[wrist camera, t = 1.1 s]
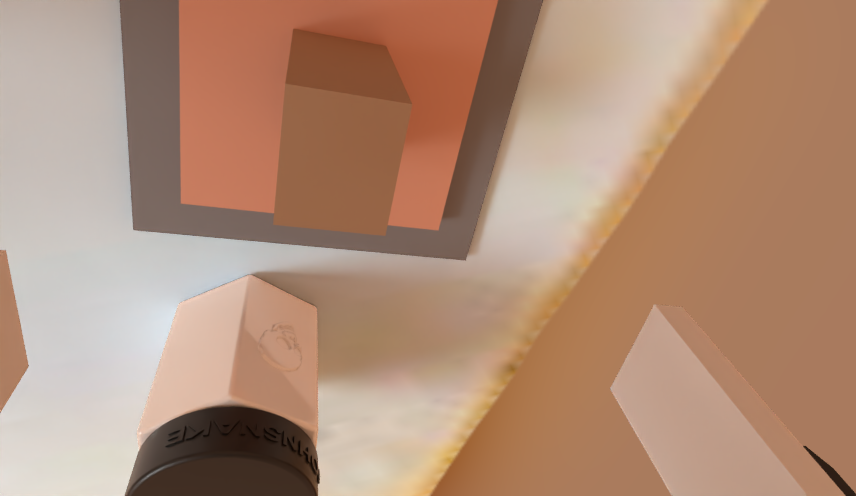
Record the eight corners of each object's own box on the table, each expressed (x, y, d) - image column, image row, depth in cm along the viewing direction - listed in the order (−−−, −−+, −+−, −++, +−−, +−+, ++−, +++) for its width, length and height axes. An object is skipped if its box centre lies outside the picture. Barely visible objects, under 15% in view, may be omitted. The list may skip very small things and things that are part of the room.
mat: (136, 224, 29) (133, 230, 29) (112, -207, 20) (107, -209, 20) (463, 254, 34) (465, 260, 33) (562, -85, 25) (567, -84, 24)
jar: (349, 318, 35) (363, 490, 25) (277, 398, 38) (264, 583, 28) (216, 251, 31) (169, 425, 21) (146, 346, 33) (75, 541, 23)
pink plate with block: (185, 192, 28) (137, 306, 20) (183, -109, 22) (112, -106, 14) (434, 219, 31) (473, 326, 24) (498, -34, 25) (579, 1, 17)
